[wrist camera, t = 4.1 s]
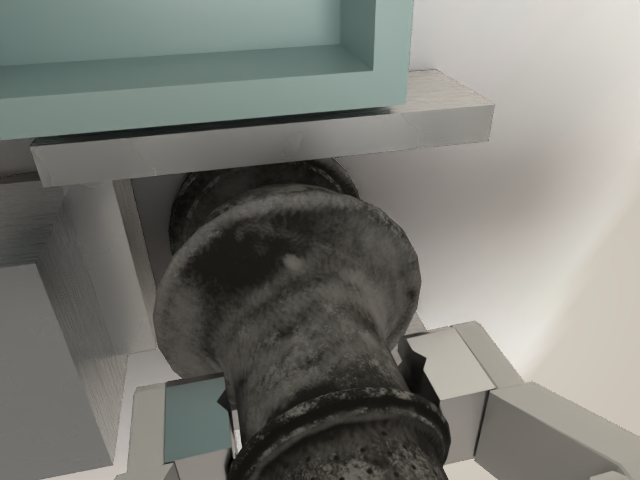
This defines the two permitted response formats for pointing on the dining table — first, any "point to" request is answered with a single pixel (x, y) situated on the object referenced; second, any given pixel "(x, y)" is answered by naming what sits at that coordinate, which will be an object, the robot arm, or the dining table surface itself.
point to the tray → (194, 61)
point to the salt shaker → (299, 322)
